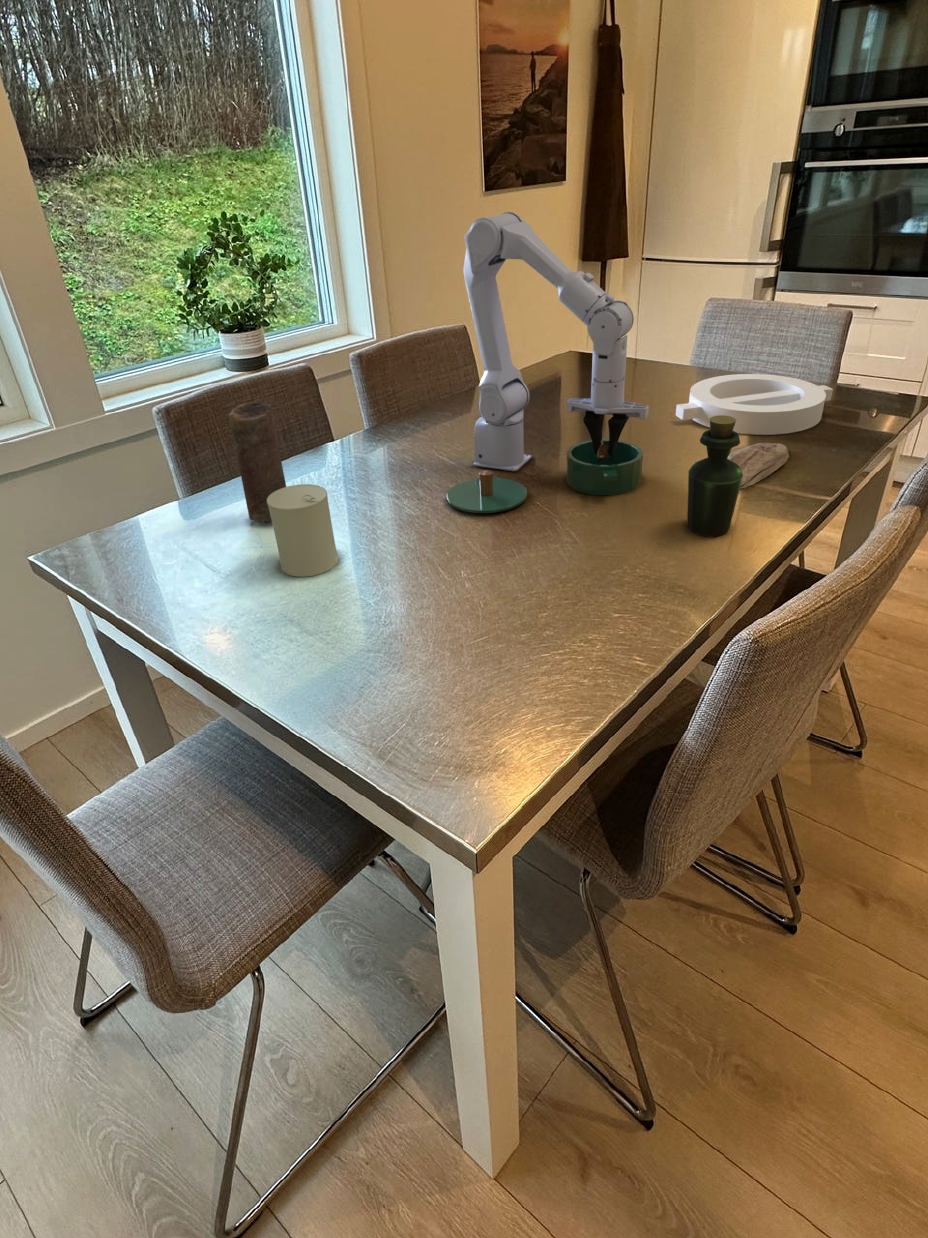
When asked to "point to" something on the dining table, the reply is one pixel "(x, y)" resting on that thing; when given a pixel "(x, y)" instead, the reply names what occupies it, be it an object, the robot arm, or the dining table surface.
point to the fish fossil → (759, 461)
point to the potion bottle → (714, 481)
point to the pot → (604, 469)
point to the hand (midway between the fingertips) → (604, 453)
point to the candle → (257, 456)
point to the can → (303, 529)
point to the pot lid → (486, 494)
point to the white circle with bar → (757, 403)
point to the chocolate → (603, 451)
